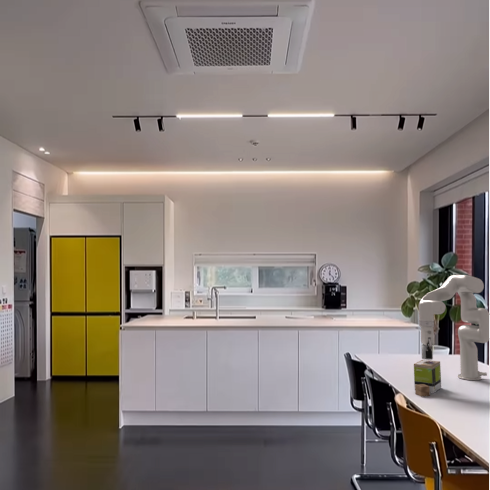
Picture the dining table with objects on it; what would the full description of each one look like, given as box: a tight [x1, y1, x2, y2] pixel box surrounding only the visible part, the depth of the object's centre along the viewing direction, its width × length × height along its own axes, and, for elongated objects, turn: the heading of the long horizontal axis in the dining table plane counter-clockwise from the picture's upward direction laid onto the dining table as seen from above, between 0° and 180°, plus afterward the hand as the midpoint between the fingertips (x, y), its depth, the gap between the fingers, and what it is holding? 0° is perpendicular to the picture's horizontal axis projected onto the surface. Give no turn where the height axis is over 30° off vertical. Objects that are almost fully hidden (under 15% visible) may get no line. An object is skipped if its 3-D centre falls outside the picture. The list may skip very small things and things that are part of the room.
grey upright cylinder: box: [421, 344, 434, 361], centre depth 252 cm, size 6×6×7 cm
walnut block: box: [414, 384, 431, 398], centre depth 240 cm, size 5×5×5 cm
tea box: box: [413, 359, 442, 394], centre depth 251 cm, size 15×10×15 cm, turn 141°
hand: (427, 356), depth 252 cm, fingers closed on grey upright cylinder, 5 cm apart
